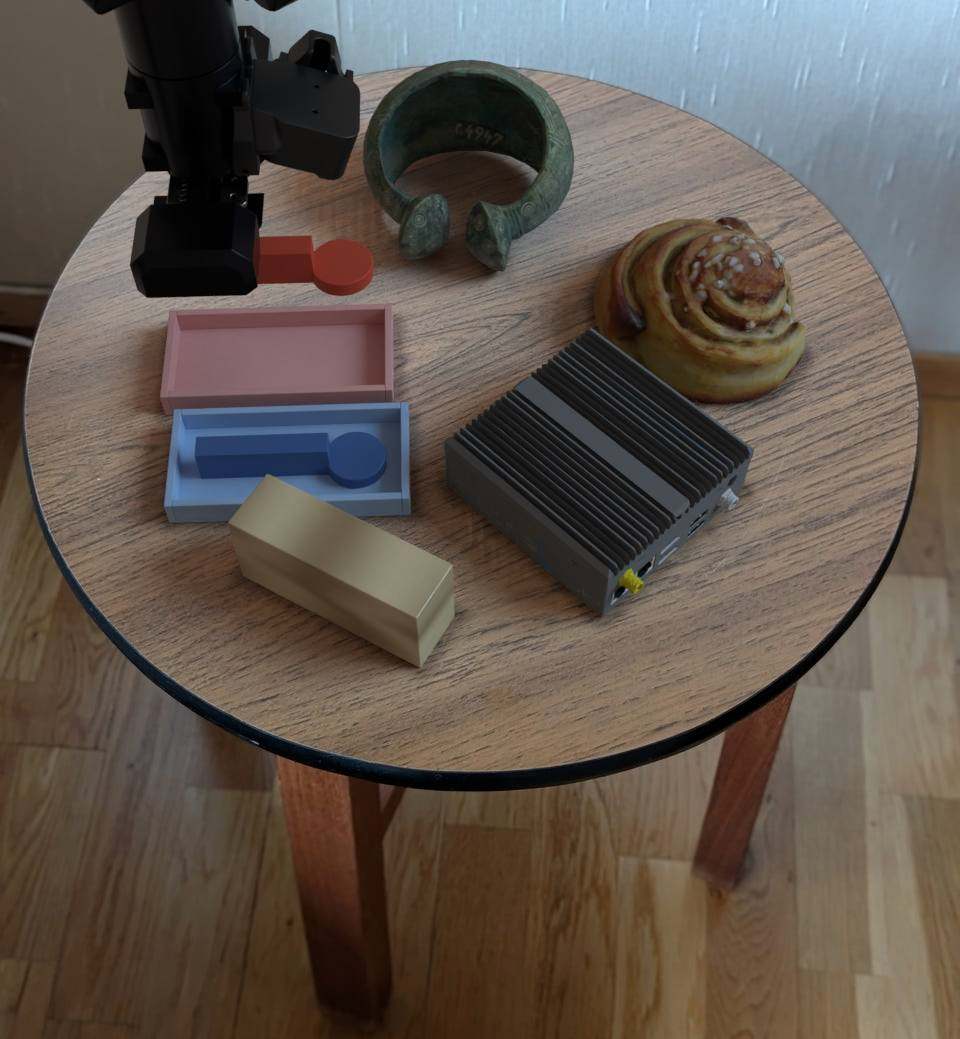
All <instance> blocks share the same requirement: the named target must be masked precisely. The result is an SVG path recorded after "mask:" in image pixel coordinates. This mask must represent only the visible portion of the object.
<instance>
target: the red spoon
mask: <svg viewBox="0 0 960 1039" xmlns="http://www.w3.org/2000/svg"><path fill="white" fill-rule="evenodd" d="M259 237H260V263H259V276H258V285H279V284H281V285H285V284H313V285H314V286H315V287H316V288H317V289H318V290H319V291H321V292H322V293H325V294H327V295H329V296H336V297H347V296H352V295H355V294H358V293H360V292H362V291H363V290H364V289H366V288H367V287H368V286H369V285H370V283H371V282H372V280H373V278H374V275H375V268H374V258H373V254H372V252H371V251H370V250H369V248H368V247H367V246H365V244H363V243H361V242H360V241H357V240H354V239H348V238H337V239H332V240H328V241H326V242H324V243H322V244H321V245H319V246H318V247H317V248H315V249H314V241H313V240H314V239H313V236H312V234H311V235H277V236H276V235H275V236H274V235H273V236H270V235H269V236H259Z"/></svg>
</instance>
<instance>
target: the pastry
mask: <svg viewBox="0 0 960 1039" xmlns="http://www.w3.org/2000/svg"><path fill="white" fill-rule="evenodd" d="M785 264H786V259H785V257H784V256H782V255H780V253H777V252H775V250H773V248H772V247H771V245H769V243H767V241H764V240H763V239H762V238H761V237H760V236H759V235H757V234H756V233H755V231H754V230H753V229H752V227H751V226H750V225H749V224H748V222H747V221H746V220H744V219H742V218H741V219H740V218H739V217H735V216H734V217H733V216H722V217H720V218H718V219H716V220H715V221H713V220H711V219H707V218H706V219H704V218H677V219H674V220H670V221H666V222H663V223H659V224H656V225H655V226H651V227H649V228H646V229H643V230H641V231H640V232H638V233H637V234H636V235H635V236H634V237H633V238H632V239H631V240H630V241H628V242H627V243H626V244H624V245H623V246H622V247H621V248H619V249H618V250H617V251H616V253H615V254H614V255H613V256H612V257H611V258H610V259H609V261H608V262H607V263H606V265H605V266H604V268H603V270H602V272H601V274H600V276H599V277H598V280H597V283H596V285H595V288H594V292H593V301H592V302H593V303H592V304H593V314H594V317H595V322H596V325H597V328H598V331H599V334H600V335H602V336H603V337H604V338H606V339H607V340H608V341H610V342H611V343H612V344H614V345H615V346H616V347H618V348H619V349H620V350H622V351H623V352H625V353H626V354H627V355H629V356H630V357H631V358H633V359H634V360H635V361H637V362H638V363H639V364H641V365H642V366H643V367H645V368H646V369H647V370H649V371H650V372H651V373H653V374H654V375H655V376H657V377H658V378H659V379H661V380H662V381H663V382H665V383H666V384H667V385H669V386H670V387H672V388H673V389H674V390H676V391H677V392H678V393H680V394H681V395H682V396H684V397H685V398H686V399H690V400H693V401H694V400H695V401H699V402H705V403H713V404H727V403H728V404H729V403H736V402H738V403H739V402H747V401H748V402H749V401H754V400H757V399H760V398H762V397H764V396H765V397H766V396H767V395H770V394H771V393H773V392H774V391H776V390H777V389H778V387H780V385H781V384H782V382H784V381H785V380H787V379H788V378H789V377H790V376H791V374H792V373H793V371H794V370H795V368H796V367H797V365H798V364H799V363H800V362H801V360H802V358H803V355H804V352H805V349H806V341H805V338H806V333H807V328H806V325H804V324H803V323H802V322H800V321H795V322H794V317H795V314H796V306H797V305H796V297H795V293H794V289H793V286H792V277H791V275H790V274H789V272H788V270H787V269H786V267H785Z"/></svg>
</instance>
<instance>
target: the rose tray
mask: <svg viewBox="0 0 960 1039" xmlns="http://www.w3.org/2000/svg"><path fill="white" fill-rule="evenodd" d="M393 311H394V310H393V303H364V304H363V303H360V304H358V303H357V304H330V305H329V304H327V305H297V306H296V305H295V306H294V305H293V306H291V305H290V306H267V307H266V306H262V307H261V306H260V307H257V306H256V307H228V308H196V309H192V308H191V309H170V310H169V313H168V320H167V321H168V323H167V331H166V338H165V339H166V341H165V348H164V357H163V366H162V374H161V376H162V377H161V384H160V391H159V392H160V394H159V399H160V402H161V405H162V409H163V410H164V415H165V416H173V414H174V410H175V409H181V410H182V409H204V408H236V407H267V406H299V405H330V404H362V403H393V402H395V378H394V377H395V366H394V365H395V357H394V356H395V354H394V352H395V350H394V345H395V343H394V312H393Z"/></svg>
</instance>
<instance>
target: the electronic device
mask: <svg viewBox="0 0 960 1039" xmlns="http://www.w3.org/2000/svg"><path fill="white" fill-rule="evenodd" d="M535 371H536V372H535ZM535 371H534V372H530V375H529V376H526V377H525V378H523V379H522V380H520V381H519V382H518V383H516V384H515V385H514V386H513V387H512V390H507V391H506V395H501V396H500V400H499V399H497V400H496V399H495V401H494V404H489V405H488V406H489V407H488V409H487V408H485V409H483V412H482V413H477V418H471V423H470V422H466V423H465V427H459V432H458V431H455V432H453V436H448V437H447V438H445V439H444V440H443V450H444V469H445V470H444V472H445V485H446V486H447V487H448V488H449V489H450V490H451V491H452V492H454V493H455V494H456V495H457V496H458V497H459V498H461V499H462V500H463V502H465V503H466V504H468V505H469V506H470V507H471V508H472V509H473V510H474V511H475V512H477V513H478V514H479V515H480V516H481V517H483V518H484V519H485V521H487V522H489V523H490V524H491V525H492V526H493V527H495V528H496V530H498V531H499V532H500V533H501V534H503V536H505V537H506V538H507V539H508V540H510V541H511V542H512V543H513V544H514V545H515V546H517V547H518V548H519V549H520V550H521V551H522V552H523V553H525V554H526V555H527V556H529V558H531V559H532V560H533V561H534V562H535V563H537V565H539V566H540V567H541V568H543V570H544V571H546V572H547V573H549V575H551V576H552V577H553V578H554V579H555V580H556V581H557V582H559V583H560V584H561V585H562V586H564V587H565V588H566V589H567V590H568V591H569V592H571V593H572V594H573V595H574V596H575V597H576V598H578V599H579V600H580V602H582V603H583V604H585V606H587V607H588V608H589V609H591V610H592V611H593V612H594V613H595V614H596V615H598V617H600V618H603V617H605V616H606V615H607V614H608V613H609V612H611V610H612V609H613V608H615V607H616V606H617V605H619V603H621V601H622V600H624V598H626V597H627V596H628V595H629V594H630V593H631V594H632V595H636V594H638V593H639V592H640V591H641V589H642V588H643V586H644V584H645V582H644V581H645V580H646V579H647V578H648V577H649V576H650V575H651V574H652V573H654V572H655V571H656V570H657V569H658V568H660V566H662V565H663V564H664V563H666V561H667V560H668V559H669V558H671V557H672V556H673V555H674V554H675V553H676V552H677V551H679V549H681V548H682V547H683V546H684V545H685V544H686V543H687V542H688V541H689V540H690V539H692V538H693V537H694V536H695V535H696V534H697V533H698V532H700V530H702V529H703V528H704V527H705V526H706V525H707V524H708V523H709V522H710V521H711V520H712V519H714V518H715V517H716V516H717V515H718V514H719V513H721V511H723V509H726V510H727V511H728V512H729V511H731V510H733V509H734V508H735V507H736V506H737V504H738V502H739V500H740V498H739V497H738V496H739V495H740V494H741V493H742V490H743V487H744V485H745V481H746V478H747V473H748V471H749V470H748V469H749V467H750V463H751V460H752V458H753V456H754V452H755V448H754V447H752V446H751V445H750V444H748V443H747V442H746V441H744V440H743V439H741V438H740V437H739V436H737V435H736V434H735V433H733V432H732V431H730V430H729V429H728V428H727V427H726V426H724V425H722V424H721V423H720V422H719V421H717V420H716V419H715V418H713V417H712V416H710V414H708V413H707V412H705V411H704V410H702V408H700V407H698V405H696V404H695V403H693V402H692V401H691V400H689V398H687V397H685V396H682V395H681V394H680V393H678V392H677V391H676V390H674V389H673V388H672V387H670V386H669V385H667V384H666V383H665V382H663V381H662V380H661V379H659V378H658V377H657V376H655V375H654V374H653V373H651V372H650V371H649V370H647V369H646V368H645V367H644V366H643V365H642V364H640V363H638V362H637V361H635V360H634V359H633V358H631V357H630V356H629V355H627V354H626V353H625V352H623V351H622V350H620V349H619V348H618V347H616V346H615V345H614V344H612V343H611V342H610V341H608V340H607V339H606V338H604V337H603V336H602V335H601V334H600V332H598V331H597V330H595V329H594V328H593V327H591V326H590V327H589V328H587V329H586V330H585V333H580V337H575V340H574V341H570V342H569V346H568V345H567V346H564V348H563V350H559V351H558V354H554V355H553V356H552V358H550V359H547V363H542V364H541V367H537V368H536V370H535Z"/></svg>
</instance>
